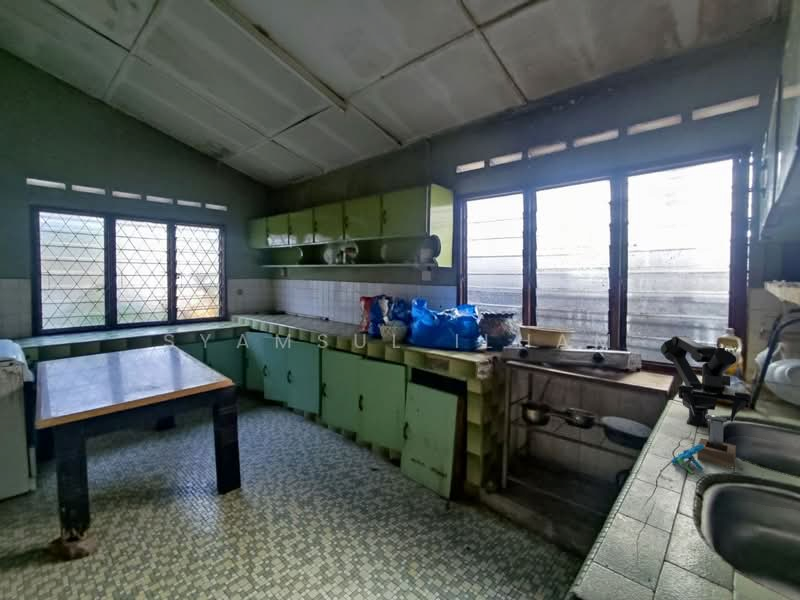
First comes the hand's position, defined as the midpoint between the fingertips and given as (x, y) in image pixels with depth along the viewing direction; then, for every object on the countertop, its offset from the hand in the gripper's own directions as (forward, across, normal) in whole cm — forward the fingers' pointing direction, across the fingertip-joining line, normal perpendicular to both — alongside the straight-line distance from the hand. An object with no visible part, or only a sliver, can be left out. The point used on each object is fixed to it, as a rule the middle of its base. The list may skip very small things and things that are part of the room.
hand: (713, 418), depth 120 cm
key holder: (+13, +1, 0) cm, 13 cm away
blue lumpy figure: (+21, -6, -7) cm, 23 cm away
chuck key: (+13, +1, 0) cm, 13 cm away
